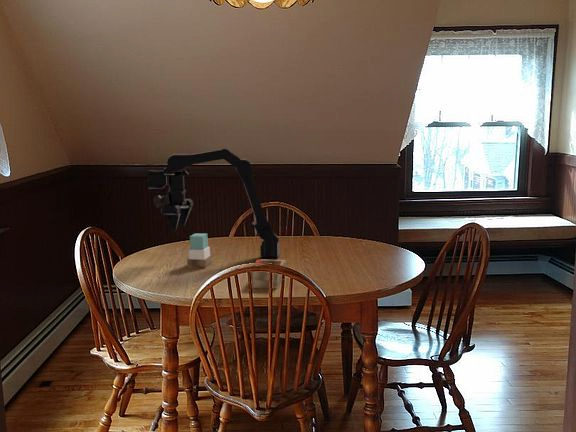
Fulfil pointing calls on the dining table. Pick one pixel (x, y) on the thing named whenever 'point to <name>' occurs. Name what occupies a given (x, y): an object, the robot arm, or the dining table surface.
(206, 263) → the walnut block
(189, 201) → the robot arm
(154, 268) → the dining table surface
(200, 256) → the cream block
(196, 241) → the teal cube
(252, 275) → the bracket cradle
